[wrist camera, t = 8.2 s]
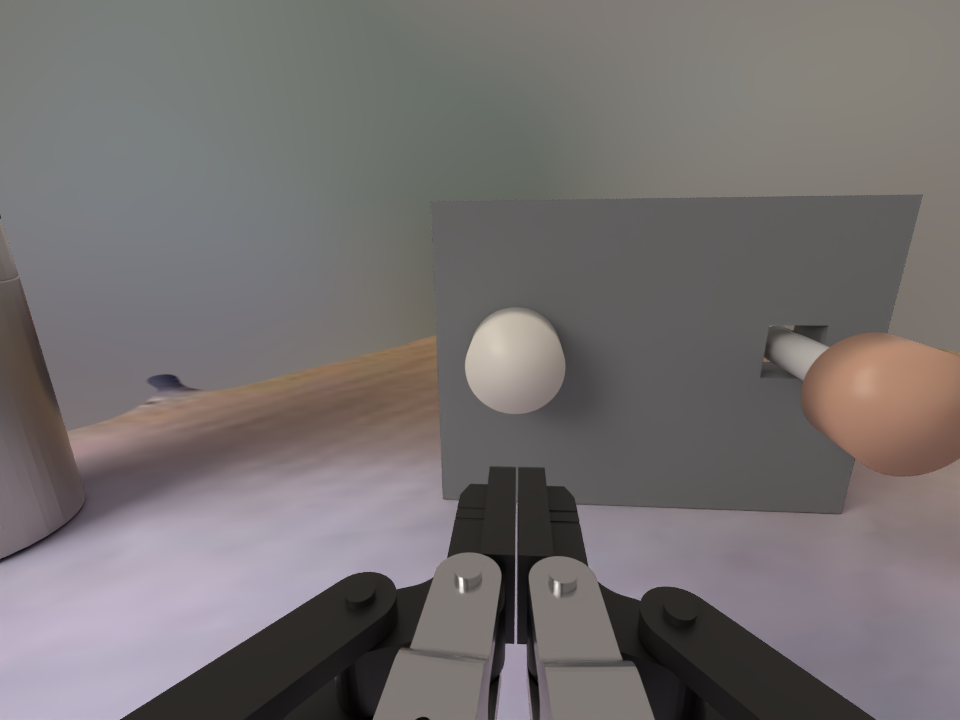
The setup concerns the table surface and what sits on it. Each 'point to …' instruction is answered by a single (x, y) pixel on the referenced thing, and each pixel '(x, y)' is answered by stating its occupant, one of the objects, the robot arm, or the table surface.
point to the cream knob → (515, 361)
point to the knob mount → (664, 340)
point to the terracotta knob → (877, 397)
